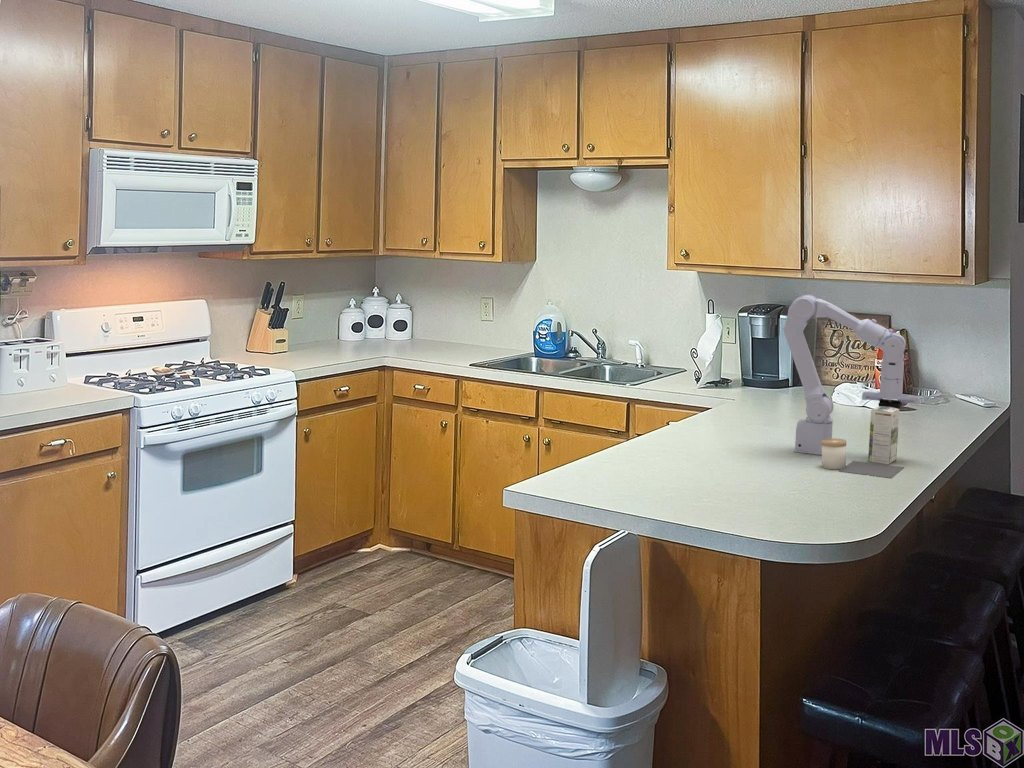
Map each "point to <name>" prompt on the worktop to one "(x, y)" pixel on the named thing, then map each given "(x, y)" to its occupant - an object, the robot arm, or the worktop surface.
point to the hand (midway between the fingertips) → (888, 428)
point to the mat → (872, 469)
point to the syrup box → (883, 435)
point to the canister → (833, 453)
